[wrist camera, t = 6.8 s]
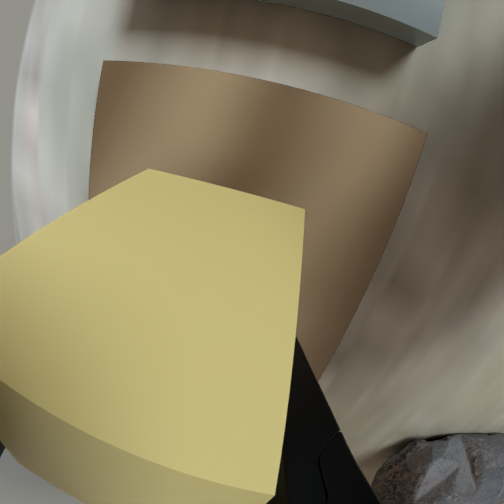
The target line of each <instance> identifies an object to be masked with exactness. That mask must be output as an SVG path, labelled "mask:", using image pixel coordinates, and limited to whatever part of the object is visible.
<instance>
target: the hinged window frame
mask: <svg viewBox="0 0 504 504" xmlns="http://www.w3.org/2000/svg"><path fill="white" fill-rule="evenodd" d="M256 1H263V2H269V3H274V4H280V5H285V6H290V7H295V8H299V9H304V10H308V11H312V12H316V13H320V14H324V15H328V16H331V17H335V18H338V19H342V20H345V21H348V22H352V23H355V24H358V25H361V26H364V27H367V28H370V29H373V30H376V31H378V32H381V33H384V34H386V35H389V36H392V37H394V38H397V39H399V40H402V41H404V42H407V43H409V44H411V45H414V46H416V47H418V46H421V45H423V44H425V43H427V42H429V41H432V40H434V39H436V38H437V37H438V32H439V27H440V22H441V16H442V11H443V5H444V0H256Z"/></svg>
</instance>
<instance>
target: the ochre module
mask: <svg viewBox="0 0 504 504" xmlns="http://www.w3.org/2000/svg"><path fill="white" fill-rule="evenodd" d="M304 220H305V209H303V208H299V207H296V206H292V205H289V204H285V203H282V202H278V201H275V200H271V199H268V198H264V197H260V196H257V195H253V194H249V193H246V192H242V191H238V190H234V189H230V188H227V187H223V186H219V185H215V184H211V183H207V182H203V181H199V180H195V179H191V178H187V177H183V176H178V175H174V174H170V173H166V172H161V171H157V170H153V169H147V170H145V171H143V172H141V173H139V174H137V175H135V176H133V177H131V178H129V179H127V180H125V181H123V182H121V183H119V184H117V185H115V186H114V187H112V188H110V189H108V190H106V191H104V192H102V193H101V194H99V195H97V196H95V197H93V198H92V199H90V200H88V201H86V202H85V203H83V204H81V205H79V206H78V207H76V208H74V209H72V210H71V211H69V212H67V213H66V214H64V215H62V216H61V217H59V218H57V219H56V220H54V221H53V222H51V223H49V224H48V225H46V226H45V227H43V228H41V229H40V230H38V231H37V232H35V233H34V234H32V235H30V236H29V237H27V238H26V239H24V240H23V241H21V242H20V243H18V244H17V245H15V246H14V247H12V248H11V249H10V250H8V251H7V252H5V253H4V254H2V255H1V256H0V441H1V442H2V444H3V445H4V446H5V447H6V449H7V450H8V451H9V452H10V453H11V454H12V456H13V457H14V458H15V459H16V460H17V461H18V462H19V463H20V464H21V465H22V466H24V467H25V468H27V469H28V470H30V471H31V472H33V473H34V474H36V475H37V476H39V477H40V478H42V479H44V480H45V481H47V482H49V483H50V484H52V485H53V486H55V487H57V488H59V489H60V490H62V491H64V492H65V493H67V494H69V495H71V496H73V497H74V498H76V499H78V500H80V501H82V502H84V503H86V504H266V503H267V502H268V501H269V500H270V499H272V498H273V497H274V496H275V492H276V485H277V479H278V473H279V466H280V459H281V453H282V446H283V439H284V431H285V424H286V416H287V408H288V400H289V392H290V383H291V375H292V366H293V356H294V347H295V337H296V326H297V315H298V304H299V292H300V280H301V266H302V252H303V237H304Z"/></svg>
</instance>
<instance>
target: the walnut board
mask: <svg viewBox="0 0 504 504" xmlns="http://www.w3.org/2000/svg"><path fill="white" fill-rule="evenodd" d="M426 137H427V133H425V132H423V131H420V130H418V129H416V128H413V127H411V126H409V125H406V124H404V123H401V122H399V121H396V120H394V119H391V118H388V117H386V116H383V115H381V114H378V113H375V112H372V111H370V110H367V109H364V108H361V107H358V106H355V105H352V104H349V103H346V102H343V101H340V100H337V99H333V98H330V97H327V96H323V95H320V94H317V93H313V92H309V91H306V90H302V89H298V88H294V87H291V86H287V85H283V84H278V83H274V82H270V81H265V80H261V79H256V78H251V77H246V76H241V75H236V74H231V73H225V72H219V71H213V70H206V69H200V68H192V67H185V66H176V65H167V64H156V63H144V62H129V61H103V66H102V72H101V78H100V84H99V90H98V96H97V104H96V111H95V119H94V128H93V138H92V149H91V162H90V179H89V200H90V199H92V198H93V197H95V196H97V195H99V194H101V193H102V192H104V191H106V190H108V189H110V188H112V187H114V186H115V185H117V184H119V183H121V182H123V181H125V180H127V179H129V178H131V177H133V176H135V175H137V174H139V173H141V172H143V171H145V170H147V169H153V170H157V171H161V172H166V173H170V174H174V175H178V176H183V177H187V178H191V179H195V180H199V181H203V182H207V183H211V184H215V185H219V186H223V187H227V188H230V189H234V190H238V191H242V192H246V193H249V194H253V195H257V196H260V197H264V198H268V199H271V200H275V201H278V202H282V203H285V204H289V205H292V206H296V207H299V208H303V209H305V220H304V237H303V252H302V266H301V280H300V292H299V304H298V315H297V326H296V337H297V339H298V341H299V343H300V345H301V347H302V349H303V351H304V353H305V356H306V358H307V360H308V362H309V364H310V366H311V368H312V370H313V373H314V375H315V377H316V379H317V381H318V380H319V378H320V377H321V375H322V373H323V371H324V370H325V368H326V366H327V364H328V363H329V361H330V359H331V357H332V355H333V354H334V352H335V350H336V348H337V346H338V344H339V343H340V341H341V339H342V337H343V335H344V333H345V331H346V329H347V327H348V326H349V324H350V322H351V320H352V318H353V316H354V314H355V312H356V310H357V308H358V306H359V304H360V302H361V300H362V298H363V296H364V293H365V291H366V289H367V287H368V285H369V283H370V281H371V279H372V276H373V274H374V272H375V270H376V268H377V265H378V263H379V261H380V259H381V256H382V254H383V252H384V250H385V247H386V245H387V243H388V240H389V238H390V235H391V233H392V231H393V228H394V226H395V223H396V221H397V218H398V216H399V213H400V211H401V208H402V206H403V203H404V200H405V198H406V195H407V192H408V190H409V187H410V184H411V181H412V179H413V176H414V173H415V170H416V167H417V164H418V161H419V158H420V155H421V152H422V149H423V146H424V143H425V140H426Z"/></svg>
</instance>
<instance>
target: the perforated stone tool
mask: <svg viewBox="0 0 504 504" xmlns="http://www.w3.org/2000/svg"><path fill="white" fill-rule="evenodd" d="M371 487H372V489H373V491H374V492H375V494H376V495H377V497H378V498H379V500H380V502H381V503H382V504H502V503H503V502H504V434H502V433H498V434H492V435H487V434H485V433H478V434H453V435H451V436H446V437H444V438H442V439H441V440H435V441H430V442H427V441H425V440H424V439H419V440H414V441H413V442H409V444H408V445H407V446H406V447H405V448H404V449H403V450H401V451H400V452H396V453H395V454H393V455H392V456H390V457H389V458H388V460H387V461H386V462H385V463H384V464H383V465H382V467H381V468H379V470H378V471H377V473H376V475H375V477H374V480H373V482H372V483H371Z"/></svg>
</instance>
